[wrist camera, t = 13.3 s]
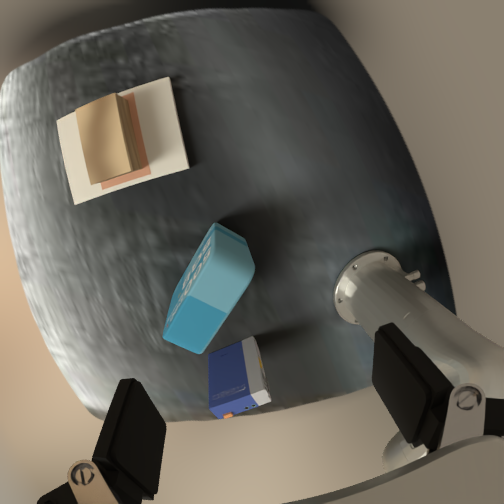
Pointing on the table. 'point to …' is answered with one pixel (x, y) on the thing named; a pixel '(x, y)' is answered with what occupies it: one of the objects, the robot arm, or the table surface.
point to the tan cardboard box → (108, 138)
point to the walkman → (237, 379)
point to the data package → (209, 289)
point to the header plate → (147, 137)
